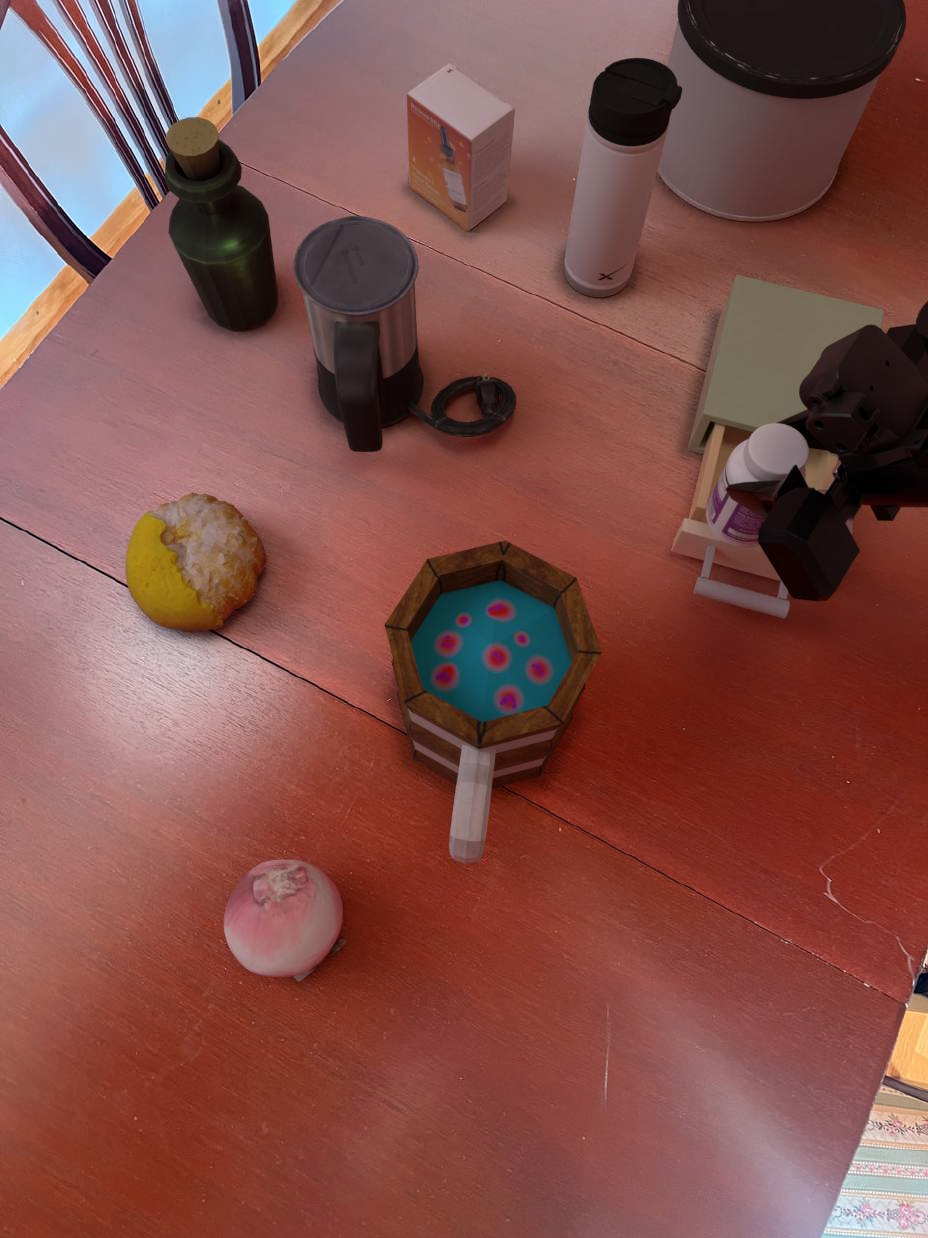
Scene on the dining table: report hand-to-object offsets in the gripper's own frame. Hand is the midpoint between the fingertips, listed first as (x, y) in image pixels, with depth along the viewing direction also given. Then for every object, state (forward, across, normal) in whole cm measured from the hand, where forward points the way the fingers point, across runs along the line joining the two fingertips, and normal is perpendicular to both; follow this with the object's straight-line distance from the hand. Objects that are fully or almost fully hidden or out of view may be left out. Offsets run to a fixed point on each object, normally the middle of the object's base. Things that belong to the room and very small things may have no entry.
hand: (749, 462), depth 66 cm
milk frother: (+29, +2, -10) cm, 31 cm away
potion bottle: (+42, +3, -24) cm, 48 cm away
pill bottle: (+4, 0, +6) cm, 7 cm away
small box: (+36, -19, -18) cm, 44 cm away
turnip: (+16, +42, +3) cm, 45 cm away
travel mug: (+25, -19, -6) cm, 32 cm away
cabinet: (+11, -16, +8) cm, 21 cm away
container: (+22, -40, -4) cm, 46 cm away
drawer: (+7, -4, +10) cm, 13 cm away
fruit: (+32, +25, -13) cm, 42 cm away
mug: (+14, +24, +6) cm, 28 cm away
